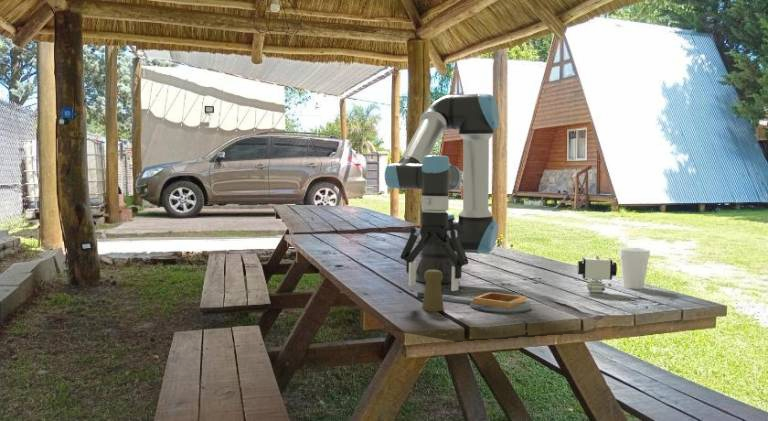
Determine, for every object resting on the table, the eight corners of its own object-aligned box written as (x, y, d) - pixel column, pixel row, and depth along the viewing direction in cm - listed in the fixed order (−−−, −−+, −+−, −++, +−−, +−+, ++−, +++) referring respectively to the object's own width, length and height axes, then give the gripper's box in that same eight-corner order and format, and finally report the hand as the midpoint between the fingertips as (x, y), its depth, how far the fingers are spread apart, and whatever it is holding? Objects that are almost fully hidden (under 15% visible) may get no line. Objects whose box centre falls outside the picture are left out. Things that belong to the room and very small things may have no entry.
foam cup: (634, 290, 208) (635, 251, 208) (612, 285, 217) (613, 248, 216) (654, 288, 213) (655, 250, 212) (632, 284, 221) (633, 247, 220)
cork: (446, 307, 178) (446, 269, 177) (440, 312, 172) (441, 272, 171) (425, 306, 180) (426, 267, 179) (419, 310, 174) (420, 270, 173)
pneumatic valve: (616, 294, 201) (617, 257, 200) (577, 292, 203) (579, 255, 203) (613, 291, 206) (614, 255, 206) (576, 289, 209) (577, 253, 208)
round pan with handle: (538, 305, 182) (539, 296, 182) (516, 316, 168) (516, 306, 168) (434, 292, 201) (434, 283, 201) (406, 300, 187) (406, 291, 187)
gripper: (389, 209, 178) (388, 284, 179) (469, 213, 164) (467, 294, 165) (403, 209, 184) (402, 281, 185) (481, 212, 170) (479, 290, 171)
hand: (432, 287), depth 175 cm, fingers open, 13 cm apart
